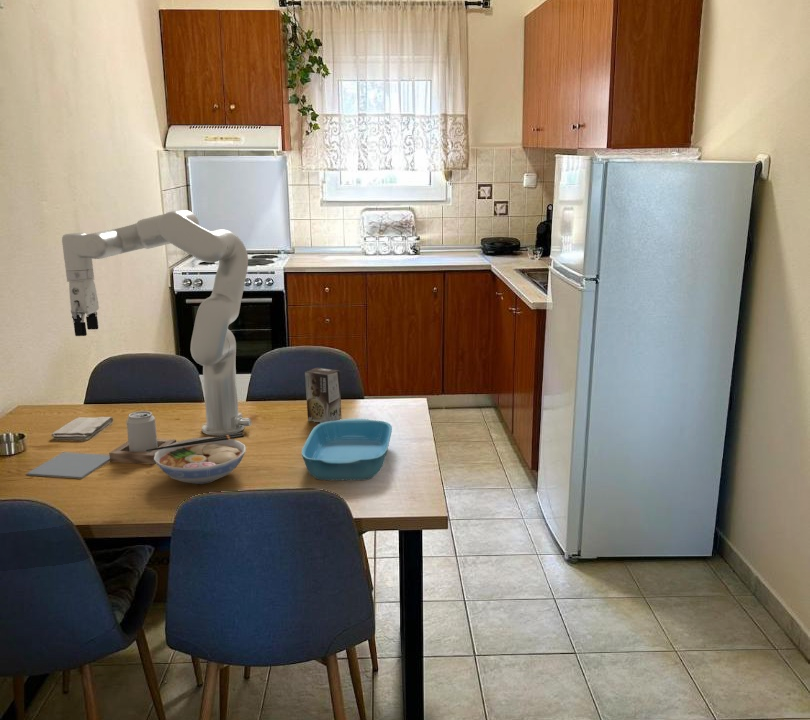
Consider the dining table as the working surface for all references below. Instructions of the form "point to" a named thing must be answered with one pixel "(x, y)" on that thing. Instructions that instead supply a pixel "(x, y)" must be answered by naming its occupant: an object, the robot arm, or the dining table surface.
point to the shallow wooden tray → (137, 453)
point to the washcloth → (82, 428)
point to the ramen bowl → (200, 458)
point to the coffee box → (323, 395)
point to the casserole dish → (347, 449)
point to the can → (141, 431)
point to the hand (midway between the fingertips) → (87, 332)
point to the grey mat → (70, 465)
